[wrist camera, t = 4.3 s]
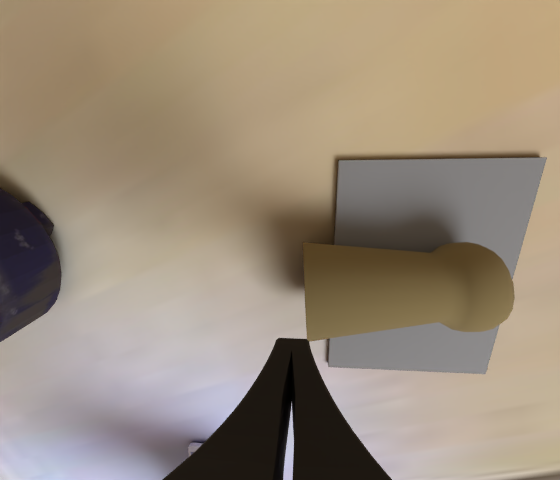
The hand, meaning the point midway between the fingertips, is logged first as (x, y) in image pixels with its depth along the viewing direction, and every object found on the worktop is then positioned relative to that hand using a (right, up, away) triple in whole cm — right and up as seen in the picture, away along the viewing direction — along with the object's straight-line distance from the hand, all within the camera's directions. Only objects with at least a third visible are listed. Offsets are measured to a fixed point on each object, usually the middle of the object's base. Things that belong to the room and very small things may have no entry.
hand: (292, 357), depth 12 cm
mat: (+9, +2, +7) cm, 12 cm away
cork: (+1, +2, +5) cm, 5 cm away
